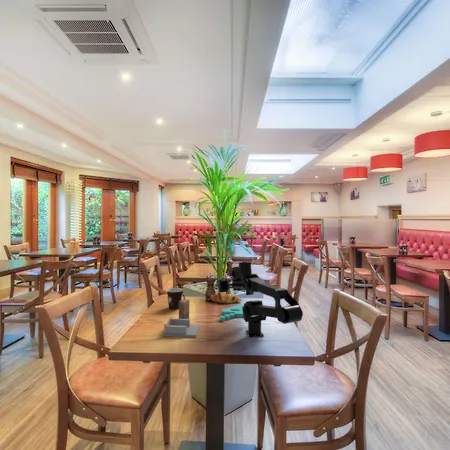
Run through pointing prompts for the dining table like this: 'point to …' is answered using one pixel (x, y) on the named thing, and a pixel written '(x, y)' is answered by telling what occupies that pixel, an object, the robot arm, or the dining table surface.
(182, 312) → the menu block
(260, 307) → the robot arm
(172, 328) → the seat
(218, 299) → the croissant
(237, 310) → the alien figure
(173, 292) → the coffee mug
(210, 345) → the dining table surface
